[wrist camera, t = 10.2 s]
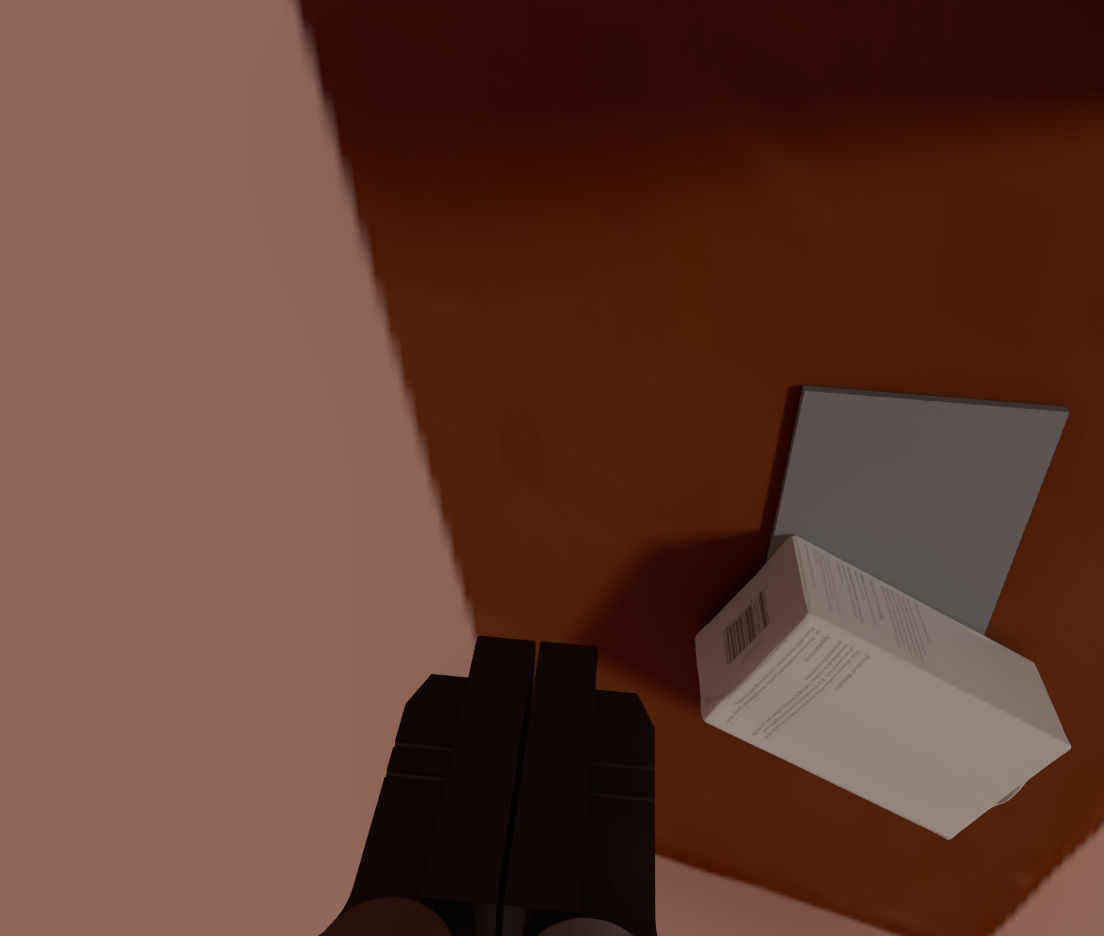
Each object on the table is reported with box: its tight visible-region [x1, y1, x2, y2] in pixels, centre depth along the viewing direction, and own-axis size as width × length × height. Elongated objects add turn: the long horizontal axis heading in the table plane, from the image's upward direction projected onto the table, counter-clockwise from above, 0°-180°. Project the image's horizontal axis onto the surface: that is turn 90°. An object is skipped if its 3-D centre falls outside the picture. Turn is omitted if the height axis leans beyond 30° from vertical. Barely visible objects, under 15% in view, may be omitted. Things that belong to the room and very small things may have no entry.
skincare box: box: [695, 535, 1071, 840], centre depth 46 cm, size 8×6×15 cm
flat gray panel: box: [766, 385, 1069, 635], centre depth 45 cm, size 11×16×1 cm
